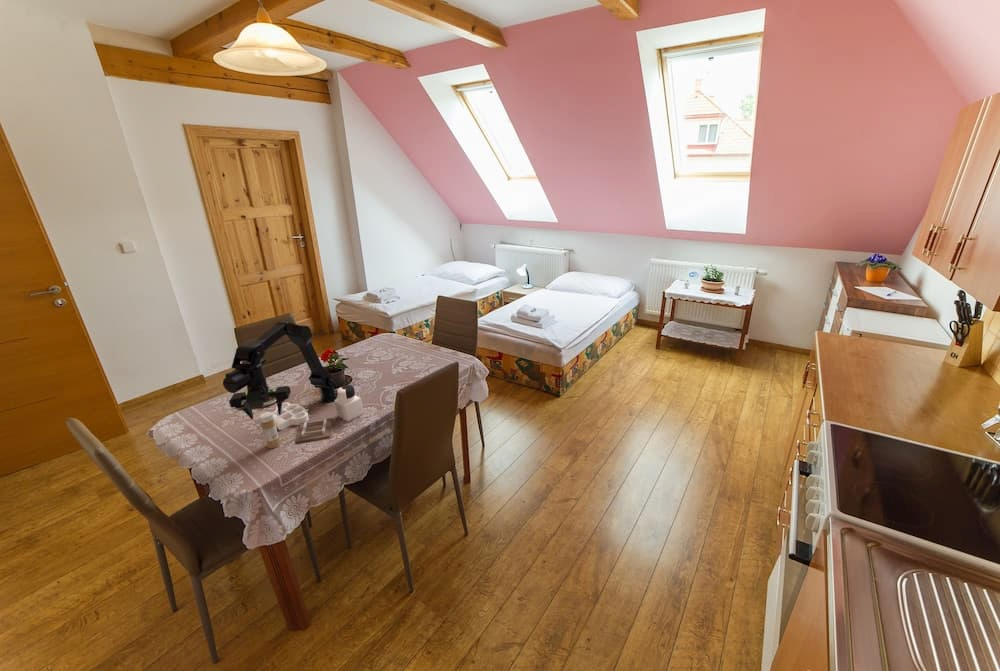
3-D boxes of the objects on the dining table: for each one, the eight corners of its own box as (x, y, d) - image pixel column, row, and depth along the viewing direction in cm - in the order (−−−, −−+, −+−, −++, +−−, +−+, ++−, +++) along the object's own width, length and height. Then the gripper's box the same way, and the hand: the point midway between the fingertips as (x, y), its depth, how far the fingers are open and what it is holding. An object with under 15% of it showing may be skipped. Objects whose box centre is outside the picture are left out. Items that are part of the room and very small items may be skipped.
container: (353, 407, 182) (348, 381, 177) (363, 413, 177) (359, 386, 172) (337, 415, 176) (331, 388, 171) (347, 422, 172) (342, 394, 167)
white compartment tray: (261, 420, 175) (294, 404, 186) (284, 434, 165) (317, 417, 176) (259, 413, 174) (292, 398, 185) (282, 427, 164) (316, 410, 175)
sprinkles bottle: (277, 439, 162) (269, 410, 157) (282, 444, 159) (274, 414, 154) (265, 445, 159) (256, 415, 153) (270, 450, 156) (261, 419, 151)
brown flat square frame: (301, 424, 171) (300, 420, 170) (332, 419, 174) (331, 414, 173) (296, 443, 159) (294, 438, 158) (329, 437, 162) (328, 432, 161)
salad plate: (294, 387, 201) (292, 378, 199) (281, 406, 185) (279, 397, 183) (251, 391, 199) (249, 382, 197) (235, 411, 182) (232, 402, 181)
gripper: (218, 394, 138) (231, 433, 144) (280, 385, 143) (290, 424, 149) (228, 378, 148) (240, 416, 154) (286, 371, 153) (295, 407, 159)
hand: (266, 416), depth 154 cm, fingers open, 9 cm apart
